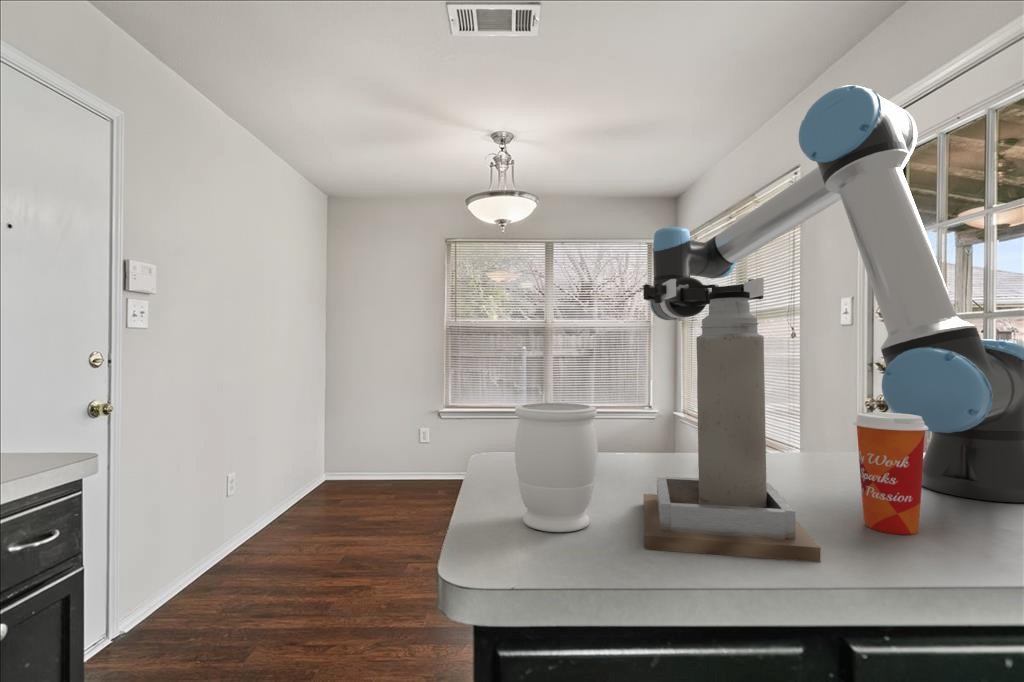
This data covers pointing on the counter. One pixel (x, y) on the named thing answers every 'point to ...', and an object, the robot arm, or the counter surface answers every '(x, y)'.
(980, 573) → the counter surface
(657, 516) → the walnut dock board
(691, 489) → the steel collar
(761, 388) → the thermos bottle
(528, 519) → the jar
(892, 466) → the paper cup
